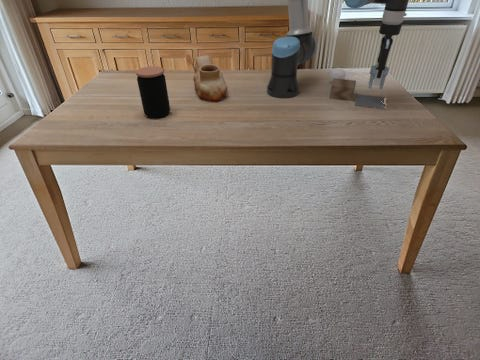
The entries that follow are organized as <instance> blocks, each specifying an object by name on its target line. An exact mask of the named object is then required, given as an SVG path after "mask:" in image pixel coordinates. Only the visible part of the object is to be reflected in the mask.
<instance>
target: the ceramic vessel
mask: <svg viewBox="0 0 480 360" xmlns="http://www.w3.org/2000/svg"><path fill="white" fill-rule="evenodd" d="M192 68H193V71H194V75H193V83H194V85H193V86H194V89H195V92H197V95H198V97H199V99H201V100H202V101H208V102H212V103H217V102H220V101H221V99H223V98H225V96H226V94H227V92H228V85H227V83H226V80H225V78H224V75H223V72H221V68H220V67H219V66H218V65H216V64H214V63H213V61H212V59H211V57H210V56H209V55H207V54H206V55H202V56H201V55H200V56H197V57H196V59H195V64H194V65H193V67H192Z"/></svg>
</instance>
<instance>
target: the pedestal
mask: <svg viewBox="0 0 480 360" xmlns="http://www.w3.org/2000/svg"><path fill="white" fill-rule="evenodd" d="M356 84H357V80H354V79H353V80H352V79H346V78H345V79H335V78H334V79H333V83H332V82H331V86H330V93H329V100H330V99H332V100H337V101H346V102H353V99H354V96H355V89H356V86H357V85H356Z"/></svg>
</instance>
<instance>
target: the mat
mask: <svg viewBox="0 0 480 360" xmlns="http://www.w3.org/2000/svg"><path fill="white" fill-rule="evenodd" d="M385 97H386V96H379V95H370V94H369V95H368V94H361V93H360V94H359V93H356V97H355V102H356V103H355V104H354V106H355V107H356V106H357V107H362V106H366V107H365V108H371V107H376V108H375V109H379V108H384V107H385V106H386V105H385V104H383V103H384V98H385ZM381 101H382V102H383V103H382V102H381ZM382 106H383V107H382ZM386 107H387V108H388V105H387V106H386Z"/></svg>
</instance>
